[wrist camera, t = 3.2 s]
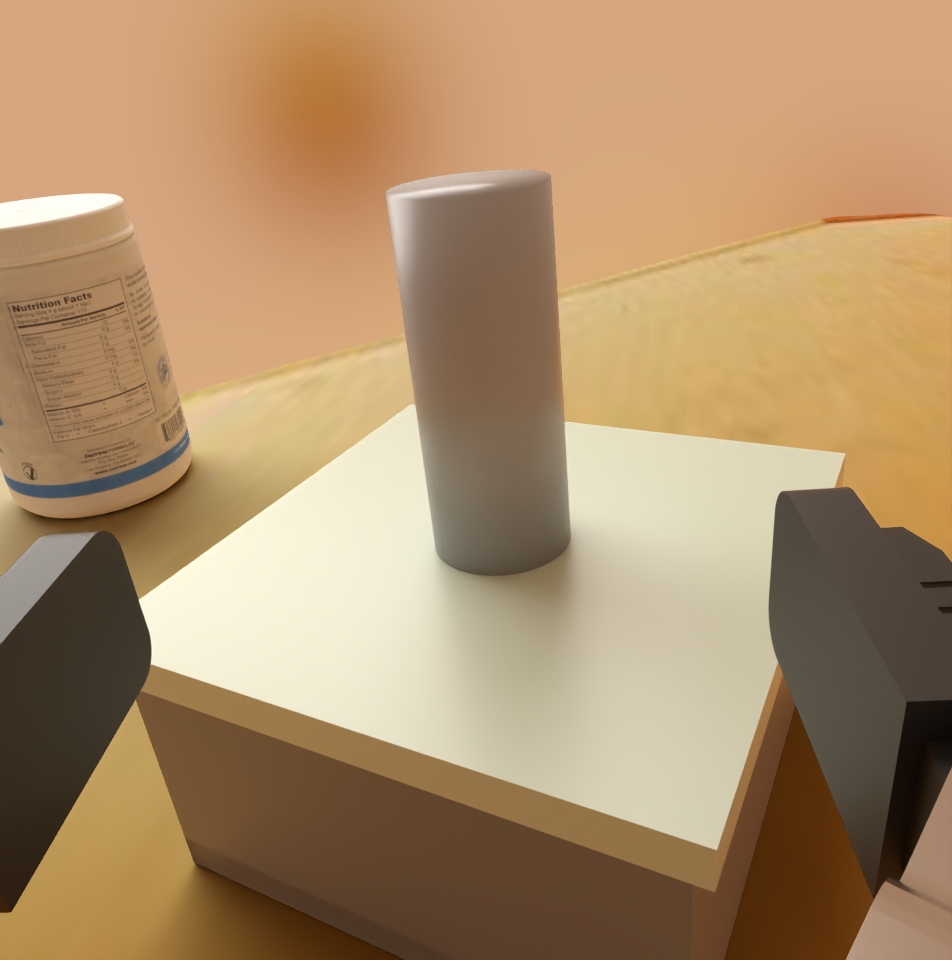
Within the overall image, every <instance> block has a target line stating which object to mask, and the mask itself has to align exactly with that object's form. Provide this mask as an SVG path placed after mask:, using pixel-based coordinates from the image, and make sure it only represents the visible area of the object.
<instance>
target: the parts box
mask: <svg viewBox="0 0 952 960" xmlns="http://www.w3.org/2000/svg"><path fill="white" fill-rule="evenodd" d="M136 701H137V704H138V707H139V710H140V713H141V715H142V718H143V721H144V724H145V727H146V729H147V732H148V735H149V738H150V741H151V743H152V746H153V749H154V752H155V755H156V757H157V760H158V763H159V766H160V769H161V771H162V774H163V777H164V780H165V782H166V785H167V788H168V791H169V794H170V796H171V799H172V802H173V805H174V808H175V810H176V813H177V816H178V819H179V822H180V824H181V827H182V830H183V833H184V836H185V838H186V841H187V844H188V847H189V849H190V852H191V855H192V858H193V861H194V863H196V864H198V865H200V866H202V867H205V868H207V869H209V870H211V871H213V872H215V873H218V874H220V875H222V876H224V877H226V878H229V879H231V880H233V881H235V882H237V883H239V884H242V885H244V886H246V887H248V888H250V889H252V890H255V891H257V892H259V893H261V894H263V895H265V896H268V897H270V898H272V899H274V900H276V901H278V902H281V903H283V904H285V905H287V906H289V907H291V908H294V909H296V910H298V911H300V912H302V913H304V914H307V915H309V916H311V917H313V918H315V919H317V920H320V921H322V922H324V923H326V924H328V925H330V926H333V927H335V928H337V929H339V930H341V931H343V932H346V933H348V934H350V935H352V936H354V937H356V938H359V939H361V940H363V941H365V942H367V943H369V944H372V945H374V946H376V947H378V948H380V949H382V950H385V951H387V952H389V953H391V954H393V955H395V956H398V957H400V958H402V959H404V960H724V958H725V955H726V951H727V948H728V944H729V940H730V937H731V933H732V930H733V926H734V923H735V919H736V916H737V912H738V908H739V905H740V901H741V898H742V894H743V891H744V887H745V883H746V880H747V876H748V873H749V869H750V866H751V862H752V859H753V855H754V851H755V848H756V844H757V841H758V837H759V834H760V830H761V827H762V823H763V819H764V816H765V812H766V809H767V805H768V802H769V798H770V794H771V791H772V787H773V784H774V780H775V777H776V773H777V770H778V766H779V762H780V759H781V755H782V752H783V748H784V745H785V741H786V737H787V734H788V730H789V727H790V723H791V720H792V716H793V713H794V709H795V703H794V700H793V698H792V695H791V693H790V690H789V688H788V685H787V683H786V680H785V678H784V675H783V676H782V679H781V682H780V686H779V689H778V692H777V695H776V698H775V702H774V705H773V708H772V711H771V715H770V718H769V721H768V724H767V727H766V731H765V734H764V737H763V740H762V743H761V747H760V750H759V753H758V756H757V759H756V763H755V766H754V769H753V772H752V776H751V779H750V782H749V785H748V788H747V792H746V795H745V798H744V801H743V804H742V808H741V811H740V814H739V817H738V820H737V824H736V827H735V830H734V833H733V837H732V840H731V843H730V846H729V849H728V853H727V856H726V859H725V862H724V865H723V869H722V872H721V875H720V878H719V881H718V885H717V888H716V891H715V892H712V891H709V890H707V889H704V888H701V887H698V886H695V885H692V884H690V883H687V882H684V881H681V880H678V879H675V878H672V877H670V876H667V875H664V874H661V873H658V872H655V871H653V870H650V869H647V868H644V867H641V866H638V865H635V864H633V863H630V862H627V861H624V860H621V859H618V858H615V857H613V856H610V855H607V854H604V853H601V852H598V851H596V850H593V849H590V848H587V847H584V846H581V845H578V844H576V843H573V842H570V841H567V840H564V839H561V838H558V837H556V836H553V835H550V834H547V833H544V832H541V831H539V830H536V829H533V828H530V827H527V826H524V825H521V824H519V823H516V822H513V821H510V820H507V819H504V818H502V817H499V816H496V815H493V814H490V813H487V812H484V811H482V810H479V809H476V808H473V807H470V806H467V805H464V804H462V803H459V802H456V801H453V800H450V799H447V798H445V797H442V796H439V795H436V794H433V793H430V792H427V791H425V790H422V789H419V788H416V787H413V786H410V785H407V784H405V783H402V782H399V781H396V780H393V779H390V778H388V777H385V776H382V775H379V774H376V773H373V772H370V771H368V770H365V769H362V768H359V767H356V766H353V765H350V764H348V763H345V762H342V761H339V760H336V759H333V758H331V757H328V756H325V755H322V754H319V753H316V752H313V751H311V750H308V749H305V748H302V747H299V746H296V745H294V744H291V743H288V742H285V741H282V740H279V739H276V738H274V737H271V736H268V735H265V734H262V733H259V732H256V731H254V730H251V729H248V728H245V727H242V726H239V725H237V724H234V723H231V722H228V721H225V720H222V719H219V718H217V717H214V716H211V715H208V714H205V713H202V712H199V711H197V710H194V709H191V708H188V707H185V706H182V705H180V704H177V703H174V702H171V701H168V700H165V699H162V698H160V697H157V696H154V695H151V694H148V693H145V692H142V691H140V692H139V694H138V696H137V698H136Z"/></svg>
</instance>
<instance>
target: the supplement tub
mask: <svg viewBox="0 0 952 960" xmlns="http://www.w3.org/2000/svg"><path fill="white" fill-rule="evenodd" d="M134 229H135V228H134V226H133V224H132V223H131V222H130V220H129V216H128V213H127V209H126V206H125V202H124V200H123V199H122V198H121V197H119V196H117V195H112V194H75V195H60V196H52V197H42V198H34V199H26V200H20V201H13V202H7V203H1V204H0V466H1V469H2V472H3V475H4V477H5V480H6V482H7V485H8V487H9V490H10V492H11V495H12V497H13V498H14V500H15V501H16V502H17V503H18V504H19V505H20V506H21V507H23V508H24V509H26V510H28V511H30V512H32V513H35V514H38V515H41V516H46V517H52V518H81V517H90V516H95V515H101V514H105V513H109V512H113V511H117V510H120V509H124V508H127V507H130V506H133V505H135V504H138V503H140V502H143V501H145V500H147V499H150V498H152V497H154V496H156V495H157V494H159V493H161V492H163V491H164V490H166V489H167V488H169V487H170V486H172V485H173V484H174V483H175V482H177V481H178V480H179V479H180V478H181V477H182V476H183V475H184V473H185V472H186V470H187V469H188V467H189V465H190V463H191V459H192V446H191V442H190V439H189V434H188V430H187V426H186V422H185V418H184V414H183V410H182V407H181V403H180V399H179V395H178V392H177V387H176V383H175V380H174V376H173V372H172V368H171V364H170V360H169V356H168V353H167V349H166V345H165V341H164V337H163V334H162V330H161V326H160V322H159V318H158V314H157V311H156V307H155V303H154V299H153V295H152V292H151V288H150V284H149V280H148V276H147V273H146V269H145V265H144V262H143V258H142V254H141V251H140V247H139V243H138V239H137V236H136V234H135V233H134Z"/></svg>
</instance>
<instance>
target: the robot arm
mask: <svg viewBox="0 0 952 960" xmlns="http://www.w3.org/2000/svg"><path fill="white" fill-rule="evenodd" d="M768 609H769V626H770V633H771V639H772V644H773V648H774V652H775V655H776V658H777V660H778V663H779V665H780V668H781V670H782V673H783V675H784V678H785V680H786V683H787V685H788V688H789V690H790V693H791V695H792V698H793V700H794V703H795V705H796V708H797V710H798V713H799V715H800V717H801V720H802V722H803V725H804V727H805V730H806V732H807V735H808V737H809V740H810V742H811V745H812V747H813V750H814V752H815V755H816V757H817V760H818V762H819V765H820V767H821V770H822V772H823V775H824V777H825V779H826V782H827V784H828V787H829V789H830V792H831V794H832V797H833V799H834V802H835V804H836V807H837V809H838V812H839V814H840V817H841V819H842V822H843V824H844V827H845V829H846V832H847V834H848V836H849V839H850V841H851V844H852V846H853V849H854V851H855V854H856V856H857V859H858V861H859V864H860V866H861V869H862V871H863V874H864V876H865V879H866V881H867V884H868V886H869V889H870V891H871V893H872V896H873V898H874V901H873V903H872V905H871V907H870V909H869V911H868V914H867V916H866V918H865V920H864V922H863V924H862V926H861V928H860V931H859V933H858V935H857V937H856V939H855V941H854V943H853V945H852V947H851V950H850V952H849V954H848V956H847V958H846V960H952V562H951V561H950V560H949V559H948V557H947V556H946V555H945V554H944V553H943V551H942V550H940V549H938V548H937V547H935V546H933V545H932V544H930V543H928V542H927V541H925V540H923V539H922V538H920V537H918V536H917V535H915V534H913V533H912V532H910V531H909V530H907V529H905V528H904V527H892V528H880V527H879V525H878V524H877V523H876V521H875V520H874V518H873V517H872V516H871V514H870V513H869V511H868V510H867V509H866V507H865V506H864V504H863V503H862V502H861V500H860V499H859V498H858V496H857V495H856V493H855V492H854V491H853V490H852V489H851V488H849V487H841V488H824V489H808V490H791V491H782V492H780V494H779V495H778V498H777V501H776V506H775V516H774V530H773V545H772V559H771V574H770V588H769V605H768ZM151 655H152V647H151V638H150V633H149V630H148V627H147V624H146V621H145V618H144V615H143V612H142V609H141V606H140V603H139V600H138V597H137V594H136V591H135V588H134V585H133V582H132V579H131V576H130V573H129V570H128V567H127V564H126V561H125V558H124V555H123V552H122V549H121V547H120V544H119V542H118V541H117V539H116V538H115V537H114V536H113V535H112V534H111V533H109V532H107V531H94V532H78V533H62V534H47V535H43V536H41V537H40V538H39V539H37V540H36V541H35V542H34V543H33V544H32V545H31V546H30V547H29V549H28V550H27V551H26V552H25V553H24V554H23V555H22V556H21V557H20V558H19V559H18V560H17V561H16V562H15V563H14V564H13V565H12V566H11V567H10V568H9V569H8V570H7V571H6V572H5V573H4V575H3V576H2V577H1V578H0V913H8V912H12V910H13V908H14V907H15V905H16V903H17V901H18V900H19V898H20V896H21V895H22V893H23V891H24V889H25V888H26V886H27V884H28V883H29V881H30V879H31V877H32V876H33V874H34V872H35V871H36V869H37V867H38V865H39V864H40V862H41V860H42V859H43V857H44V855H45V853H46V852H47V850H48V848H49V847H50V845H51V843H52V841H53V840H54V838H55V836H56V835H57V833H58V831H59V830H60V828H61V826H62V824H63V823H64V821H65V819H66V818H67V816H68V814H69V812H70V811H71V809H72V807H73V806H74V804H75V802H76V800H77V799H78V797H79V795H80V794H81V792H82V790H83V788H84V787H85V785H86V783H87V782H88V780H89V778H90V776H91V775H92V773H93V771H94V770H95V768H96V766H97V764H98V763H99V761H100V759H101V758H102V756H103V754H104V752H105V751H106V749H107V747H108V746H109V744H110V742H111V740H112V739H113V737H114V735H115V734H116V732H117V730H118V728H119V727H120V725H121V723H122V722H123V720H124V718H125V716H126V715H127V713H128V711H129V710H130V708H131V706H132V704H133V703H134V701H135V699H136V698H137V696H138V694H139V692H140V691H141V689H142V687H143V686H144V684H145V682H146V679H147V677H148V674H149V670H150V665H151Z"/></svg>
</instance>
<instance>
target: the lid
mask: <svg viewBox="0 0 952 960" xmlns="http://www.w3.org/2000/svg"><path fill="white" fill-rule="evenodd" d="M386 198H387V206H388V213H389V220H390V227H391V234H392V242H393V249H394V256H395V263H396V270H397V277H398V284H399V292H400V298H401V306H402V313H403V320H404V327H405V335H406V342H407V349H408V356H409V363H410V370H411V378H412V385H413V392H414V399H415V405H413V404H411V405H409V406H408V407H406V408H405V409H404V410H402V411H401V412H399V413H398V414H397V415H395V416H394V417H392V418H391V419H390V420H388V421H387V422H386V423H384V424H383V425H381V426H380V427H379V428H377V429H376V430H374V431H373V432H372V433H370V434H369V435H367V436H366V437H365V438H363V439H362V440H360V441H359V442H358V443H356V444H355V445H354V446H352V447H351V448H349V449H348V450H347V451H345V452H344V453H342V454H341V455H340V456H338V457H337V458H335V459H334V460H333V461H331V462H330V463H329V464H327V465H326V466H324V467H323V468H322V469H320V470H319V471H317V472H316V473H315V474H313V475H312V476H310V477H309V478H308V479H306V480H305V481H303V482H302V483H301V484H299V485H298V486H297V487H295V488H294V489H292V490H291V491H290V492H288V493H287V494H285V495H284V496H283V497H281V498H280V499H278V500H277V501H276V502H274V503H273V504H272V505H270V506H269V507H267V508H266V509H265V510H263V511H262V512H260V513H259V514H258V515H256V516H255V517H253V518H252V519H251V520H249V521H248V522H246V523H245V524H244V525H242V526H241V527H240V528H238V529H237V530H235V531H234V532H233V533H231V534H230V535H228V536H227V537H226V538H224V539H223V540H221V541H220V542H219V543H217V544H216V545H215V546H213V547H212V548H210V549H209V550H208V551H206V552H205V553H203V554H202V555H201V556H199V557H198V558H196V559H195V560H194V561H192V562H191V563H189V564H188V565H187V566H185V567H184V568H183V569H181V570H180V571H178V572H177V573H176V574H174V575H173V576H171V577H170V578H169V579H167V580H166V581H164V582H163V583H162V584H160V585H159V586H158V587H156V588H155V589H153V590H152V591H151V592H149V593H148V594H146V595H145V596H144V597H142V598H141V599H139V603H140V606H141V609H142V612H143V615H144V618H145V621H146V624H147V627H148V630H149V633H150V638H151V647H152V655H151V665H150V670H149V674H148V677H147V679H146V682H145V684H144V686H143V687H142V689H141V691H142V692H145V693H148V694H151V695H154V696H157V697H160V698H162V699H165V700H168V701H171V702H174V703H177V704H180V705H182V706H185V707H188V708H191V709H194V710H197V711H199V712H202V713H205V714H208V715H211V716H214V717H217V718H219V719H222V720H225V721H228V722H231V723H234V724H237V725H239V726H242V727H245V728H248V729H251V730H254V731H256V732H259V733H262V734H265V735H268V736H271V737H274V738H276V739H279V740H282V741H285V742H288V743H291V744H294V745H296V746H299V747H302V748H305V749H308V750H311V751H313V752H316V753H319V754H322V755H325V756H328V757H331V758H333V759H336V760H339V761H342V762H345V763H348V764H350V765H353V766H356V767H359V768H362V769H365V770H368V771H370V772H373V773H376V774H379V775H382V776H385V777H388V778H390V779H393V780H396V781H399V782H402V783H405V784H407V785H410V786H413V787H416V788H419V789H422V790H425V791H427V792H430V793H433V794H436V795H439V796H442V797H445V798H447V799H450V800H453V801H456V802H459V803H462V804H464V805H467V806H470V807H473V808H476V809H479V810H482V811H484V812H487V813H490V814H493V815H496V816H499V817H502V818H504V819H507V820H510V821H513V822H516V823H519V824H521V825H524V826H527V827H530V828H533V829H536V830H539V831H541V832H544V833H547V834H550V835H553V836H556V837H558V838H561V839H564V840H567V841H570V842H573V843H576V844H578V845H581V846H584V847H587V848H590V849H593V850H596V851H598V852H601V853H604V854H607V855H610V856H613V857H615V858H618V859H621V860H624V861H627V862H630V863H633V864H635V865H638V866H641V867H644V868H647V869H650V870H653V871H655V872H658V873H661V874H664V875H667V876H670V877H672V878H675V879H678V880H681V881H684V882H687V883H690V884H692V885H695V886H698V887H701V888H704V889H707V890H709V891H712V892H715V891H716V888H717V885H718V881H719V878H720V875H721V872H722V869H723V865H724V862H725V859H726V856H727V853H728V849H729V846H730V843H731V840H732V837H733V833H734V830H735V827H736V824H737V820H738V817H739V814H740V811H741V808H742V804H743V801H744V798H745V795H746V792H747V788H748V785H749V782H750V779H751V776H752V772H753V769H754V766H755V763H756V759H757V756H758V753H759V750H760V747H761V743H762V740H763V737H764V734H765V731H766V727H767V724H768V721H769V718H770V715H771V711H772V708H773V705H774V702H775V698H776V695H777V692H778V689H779V686H780V682H781V679H782V676H783V673H782V670H781V668H780V665H779V663H778V660H777V658H776V655H775V652H774V648H773V644H772V639H771V633H770V626H769V609H768V605H769V588H770V574H771V559H772V545H773V530H774V516H775V506H776V501H777V498H778V495H779V494H780V492H782V491H791V490H808V489H824V488H841V487H842V482H843V473H844V464H845V455H846V453H837V452H828V451H819V450H810V449H802V448H793V447H784V446H775V445H766V444H757V443H749V442H740V441H731V440H722V439H713V438H704V437H696V436H687V435H678V434H669V433H660V432H652V431H643V430H634V429H625V428H616V427H607V426H599V425H590V424H581V423H572V422H565V421H564V403H563V385H562V367H561V349H560V331H559V313H558V295H557V277H556V260H555V243H554V242H555V241H554V223H553V206H552V187H551V175H550V174H548V173H546V172H541V171H535V170H491V171H478V172H468V173H460V174H459V173H458V174H451V175H444V176H437V177H432V178H426V179H422V180H417V181H412V182H408V183H405V184H401V185H398V186H396V187H393V188H391V189H389V190H388V191H387V192H386Z"/></svg>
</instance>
